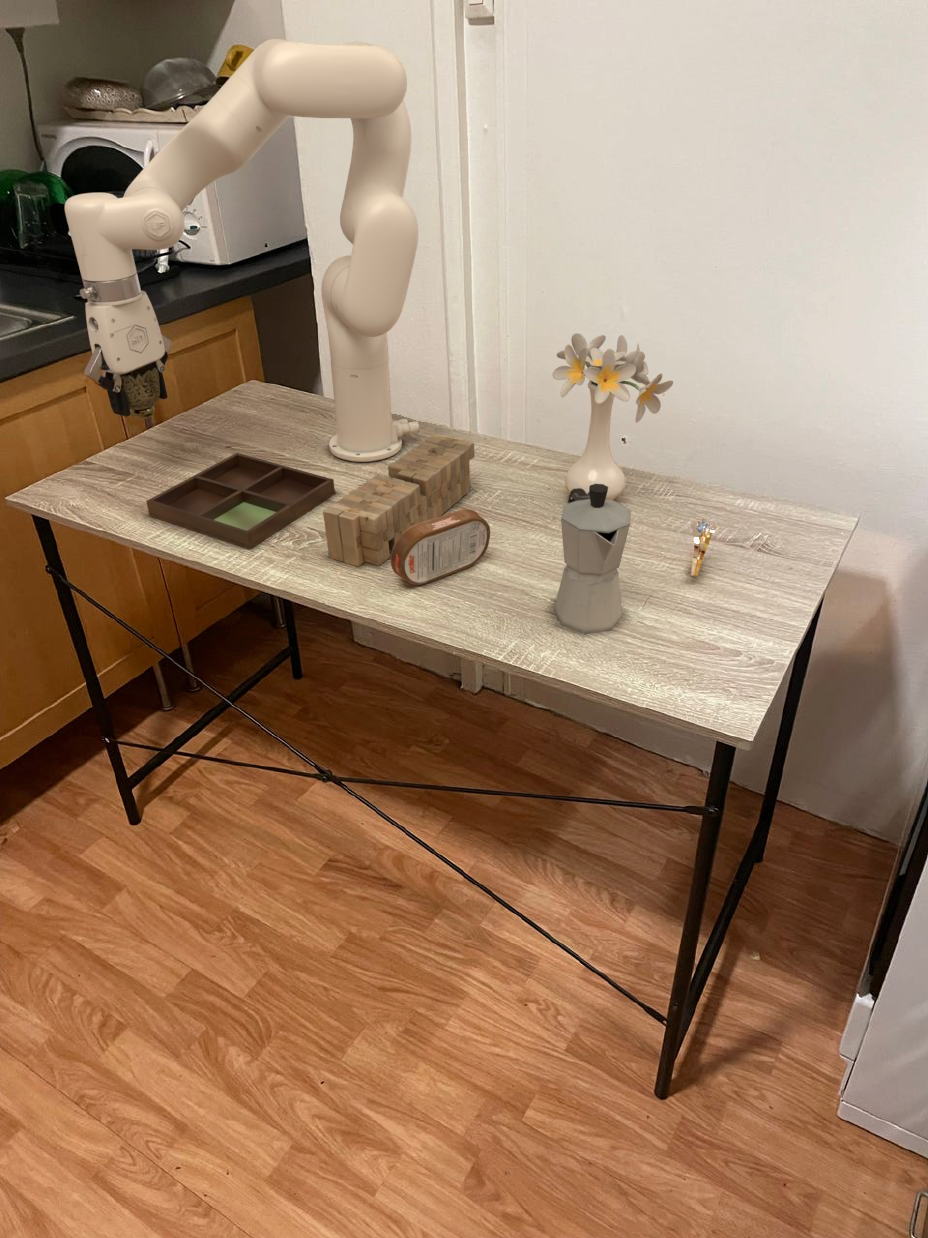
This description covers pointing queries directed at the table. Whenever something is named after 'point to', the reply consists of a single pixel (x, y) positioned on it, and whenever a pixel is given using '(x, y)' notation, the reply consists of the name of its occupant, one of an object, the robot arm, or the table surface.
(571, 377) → the flower vase
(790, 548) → the table surface
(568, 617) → the coffee maker
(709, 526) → the ring
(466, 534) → the tin
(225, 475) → the grid
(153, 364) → the robot arm
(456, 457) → the block tower
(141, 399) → the cup
